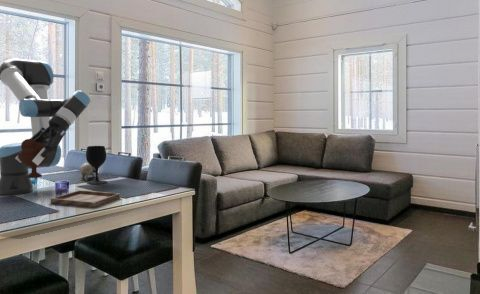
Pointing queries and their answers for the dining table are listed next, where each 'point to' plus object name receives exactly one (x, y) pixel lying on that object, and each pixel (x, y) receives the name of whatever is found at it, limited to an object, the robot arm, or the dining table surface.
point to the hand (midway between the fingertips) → (26, 161)
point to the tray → (85, 198)
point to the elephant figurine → (86, 170)
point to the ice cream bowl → (31, 155)
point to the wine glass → (96, 160)
